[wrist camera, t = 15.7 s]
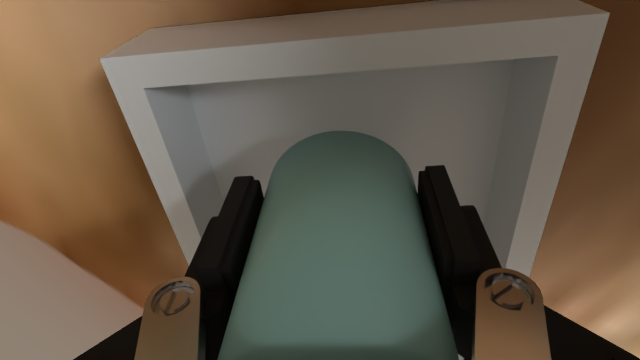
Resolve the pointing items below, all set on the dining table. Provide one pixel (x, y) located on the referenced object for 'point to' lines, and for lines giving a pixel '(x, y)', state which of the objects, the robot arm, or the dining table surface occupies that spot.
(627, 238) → the dining table surface
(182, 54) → the grey tote
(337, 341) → the teal rounded capsule
